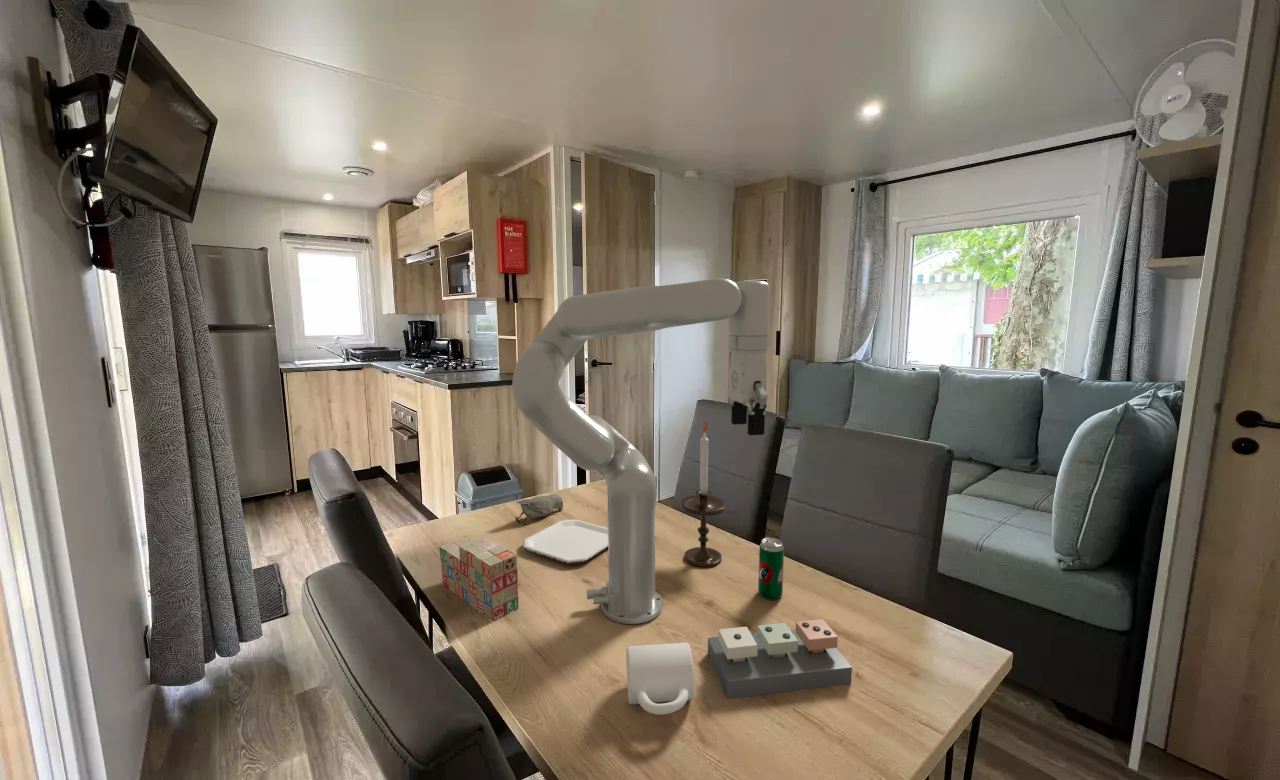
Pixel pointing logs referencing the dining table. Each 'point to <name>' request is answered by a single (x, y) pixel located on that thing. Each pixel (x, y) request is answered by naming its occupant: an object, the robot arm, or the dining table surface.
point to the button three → (816, 635)
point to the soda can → (771, 568)
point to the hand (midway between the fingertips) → (747, 429)
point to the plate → (569, 541)
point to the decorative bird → (540, 506)
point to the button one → (737, 643)
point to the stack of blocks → (481, 575)
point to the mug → (660, 676)
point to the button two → (777, 639)
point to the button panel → (778, 670)
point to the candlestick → (703, 513)
